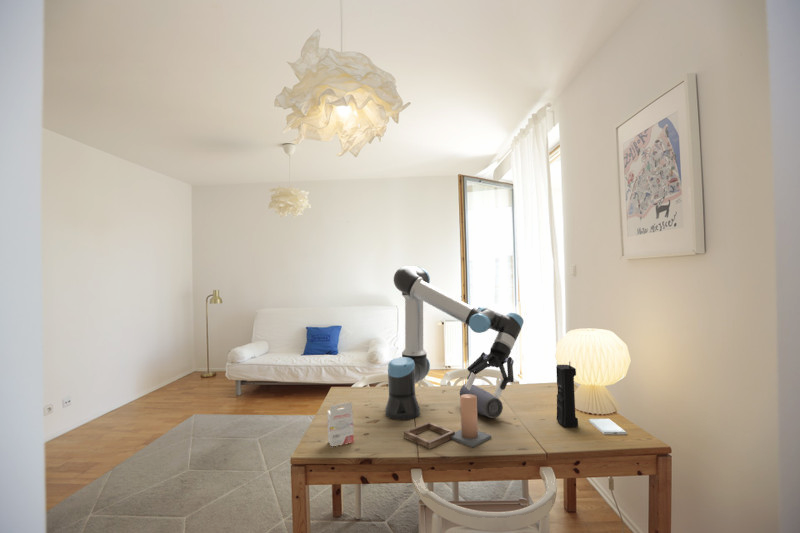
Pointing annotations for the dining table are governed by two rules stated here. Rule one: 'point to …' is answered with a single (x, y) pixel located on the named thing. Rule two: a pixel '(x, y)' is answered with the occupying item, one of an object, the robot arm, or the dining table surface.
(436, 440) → the walnut collar
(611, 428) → the hard drive
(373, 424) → the dining table surface
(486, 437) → the charcoal mat
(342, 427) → the ink cartridge box
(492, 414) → the bluetooth speaker
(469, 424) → the salmon orange cylinder
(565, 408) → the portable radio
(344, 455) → the dining table surface
